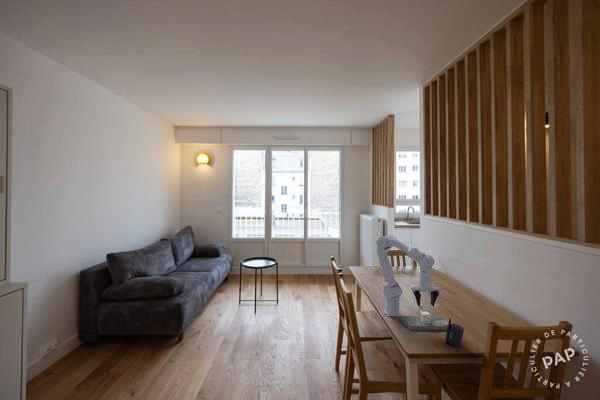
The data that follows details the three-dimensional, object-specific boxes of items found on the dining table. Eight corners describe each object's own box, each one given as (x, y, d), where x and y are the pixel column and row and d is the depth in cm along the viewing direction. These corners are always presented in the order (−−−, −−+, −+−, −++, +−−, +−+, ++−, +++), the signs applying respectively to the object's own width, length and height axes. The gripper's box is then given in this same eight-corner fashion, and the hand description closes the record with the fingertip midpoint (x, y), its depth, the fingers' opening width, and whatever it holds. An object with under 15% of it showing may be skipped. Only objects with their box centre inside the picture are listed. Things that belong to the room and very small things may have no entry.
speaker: (441, 342, 138) (444, 320, 137) (445, 338, 142) (448, 317, 141) (458, 350, 132) (462, 327, 132) (463, 346, 137) (466, 323, 136)
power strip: (400, 319, 163) (400, 314, 163) (440, 319, 164) (440, 314, 164) (410, 330, 150) (410, 324, 150) (453, 330, 151) (453, 325, 151)
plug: (419, 323, 158) (419, 311, 158) (427, 323, 158) (427, 311, 158) (422, 327, 154) (423, 314, 154) (430, 327, 154) (430, 314, 154)
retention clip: (419, 317, 161) (420, 306, 161) (417, 315, 163) (417, 305, 163) (437, 315, 164) (438, 304, 164) (435, 313, 166) (435, 303, 166)
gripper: (415, 281, 152) (414, 308, 152) (443, 281, 152) (443, 308, 152) (409, 277, 159) (409, 303, 159) (437, 277, 159) (436, 303, 159)
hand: (425, 305), depth 156 cm, fingers open, 7 cm apart
